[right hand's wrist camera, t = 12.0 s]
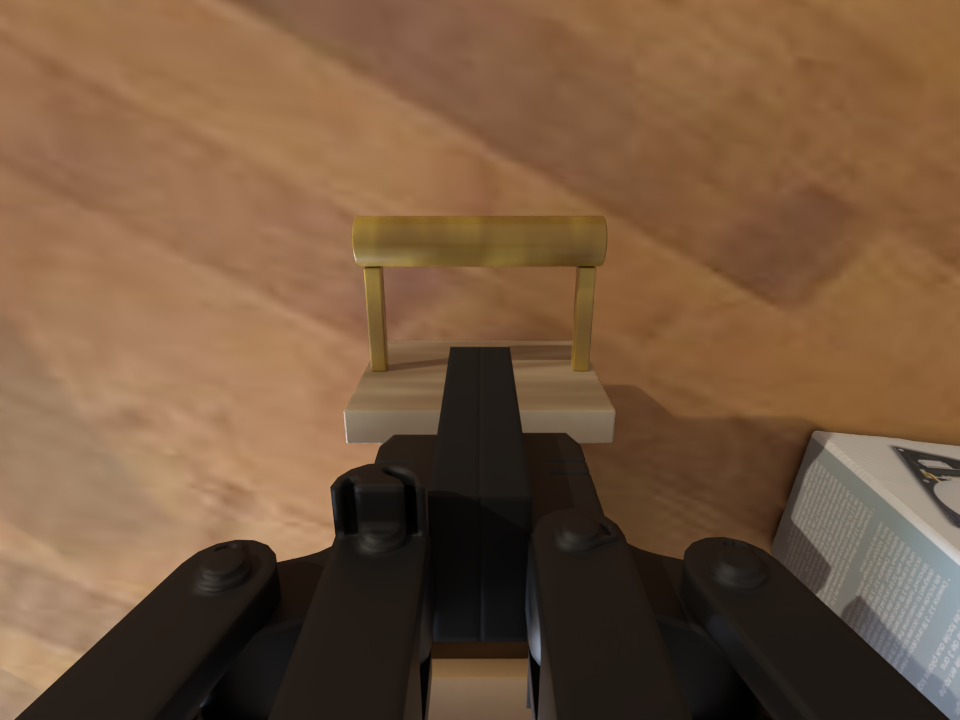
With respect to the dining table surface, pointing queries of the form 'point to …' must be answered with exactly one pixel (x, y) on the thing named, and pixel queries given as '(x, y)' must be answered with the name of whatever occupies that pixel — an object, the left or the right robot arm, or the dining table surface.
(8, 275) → the dining table surface
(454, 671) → the cabinet
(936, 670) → the hard drive box
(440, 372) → the drawer
